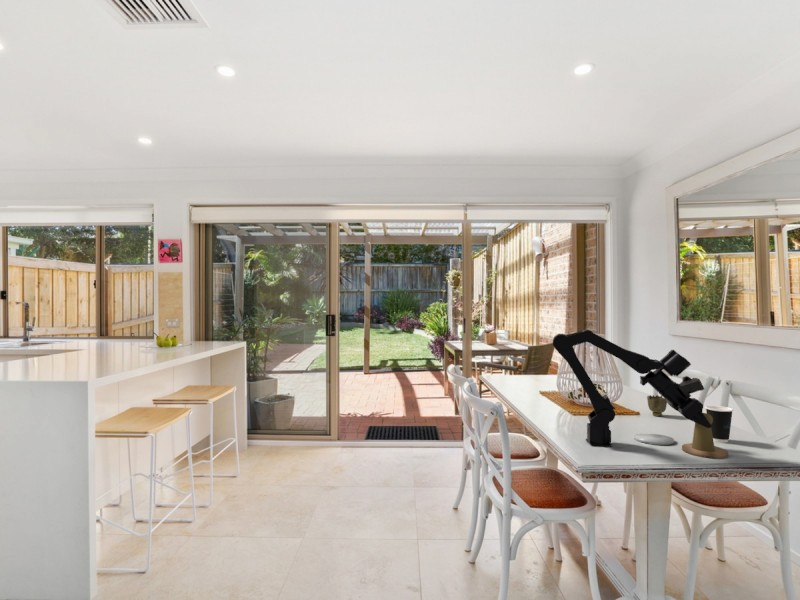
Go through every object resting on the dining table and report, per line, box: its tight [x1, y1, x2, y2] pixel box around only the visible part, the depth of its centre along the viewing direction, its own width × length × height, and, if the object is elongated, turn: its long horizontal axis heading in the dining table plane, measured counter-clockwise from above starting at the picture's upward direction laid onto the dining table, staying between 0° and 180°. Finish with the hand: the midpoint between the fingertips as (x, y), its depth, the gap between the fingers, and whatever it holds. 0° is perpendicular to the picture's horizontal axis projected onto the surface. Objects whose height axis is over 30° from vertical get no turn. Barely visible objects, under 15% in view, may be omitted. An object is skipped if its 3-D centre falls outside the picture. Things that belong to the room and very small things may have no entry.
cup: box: [646, 394, 668, 417], centre depth 190 cm, size 8×7×8 cm
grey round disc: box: [633, 432, 675, 446], centre depth 155 cm, size 12×12×1 cm
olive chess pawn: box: [691, 412, 715, 452], centre depth 143 cm, size 6×6×11 cm
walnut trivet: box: [681, 442, 729, 460], centre depth 142 cm, size 12×12×1 cm
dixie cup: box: [704, 405, 734, 444], centre depth 155 cm, size 8×8×11 cm
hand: (705, 423), depth 142 cm, fingers open, 9 cm apart
